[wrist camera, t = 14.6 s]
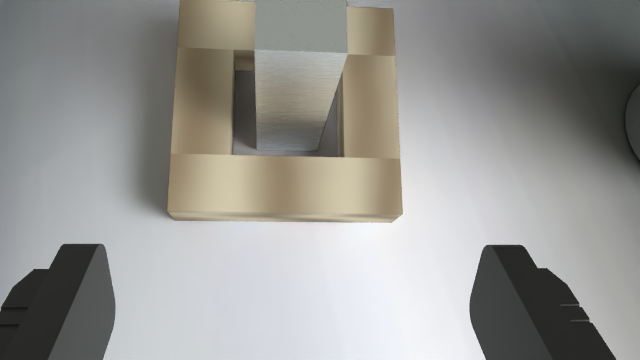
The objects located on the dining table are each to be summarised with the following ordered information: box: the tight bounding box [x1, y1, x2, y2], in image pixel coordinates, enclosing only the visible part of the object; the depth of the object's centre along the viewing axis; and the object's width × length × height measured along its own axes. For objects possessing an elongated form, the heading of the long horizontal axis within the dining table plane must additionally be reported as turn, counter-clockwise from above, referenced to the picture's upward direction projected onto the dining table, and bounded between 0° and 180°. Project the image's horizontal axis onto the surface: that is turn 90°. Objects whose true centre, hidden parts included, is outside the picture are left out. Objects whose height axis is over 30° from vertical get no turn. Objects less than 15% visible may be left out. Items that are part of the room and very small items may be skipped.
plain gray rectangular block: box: [255, 0, 348, 151], centre depth 31 cm, size 4×4×14 cm
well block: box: [167, 0, 403, 223], centre depth 36 cm, size 14×14×3 cm
